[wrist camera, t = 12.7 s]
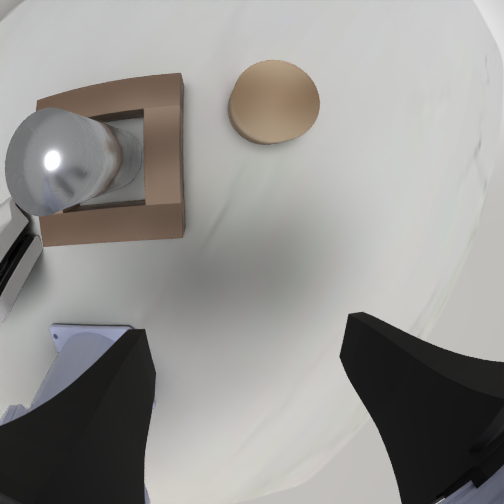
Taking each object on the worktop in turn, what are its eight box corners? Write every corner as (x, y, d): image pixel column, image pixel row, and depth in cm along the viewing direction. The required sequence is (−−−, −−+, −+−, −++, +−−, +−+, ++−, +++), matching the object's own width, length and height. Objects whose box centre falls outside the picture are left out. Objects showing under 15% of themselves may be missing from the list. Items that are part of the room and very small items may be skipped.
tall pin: (142, 127, 15) (89, 98, 7) (141, 187, 17) (87, 212, 8) (87, 133, 15) (7, 119, 6) (87, 191, 16) (8, 219, 8)
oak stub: (299, 146, 18) (319, 143, 14) (227, 144, 17) (233, 139, 14) (299, 80, 16) (318, 65, 13) (228, 75, 15) (234, 57, 12)
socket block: (185, 227, 18) (182, 238, 16) (60, 236, 16) (43, 246, 14) (183, 85, 15) (180, 72, 13) (55, 106, 14) (37, 100, 11)
